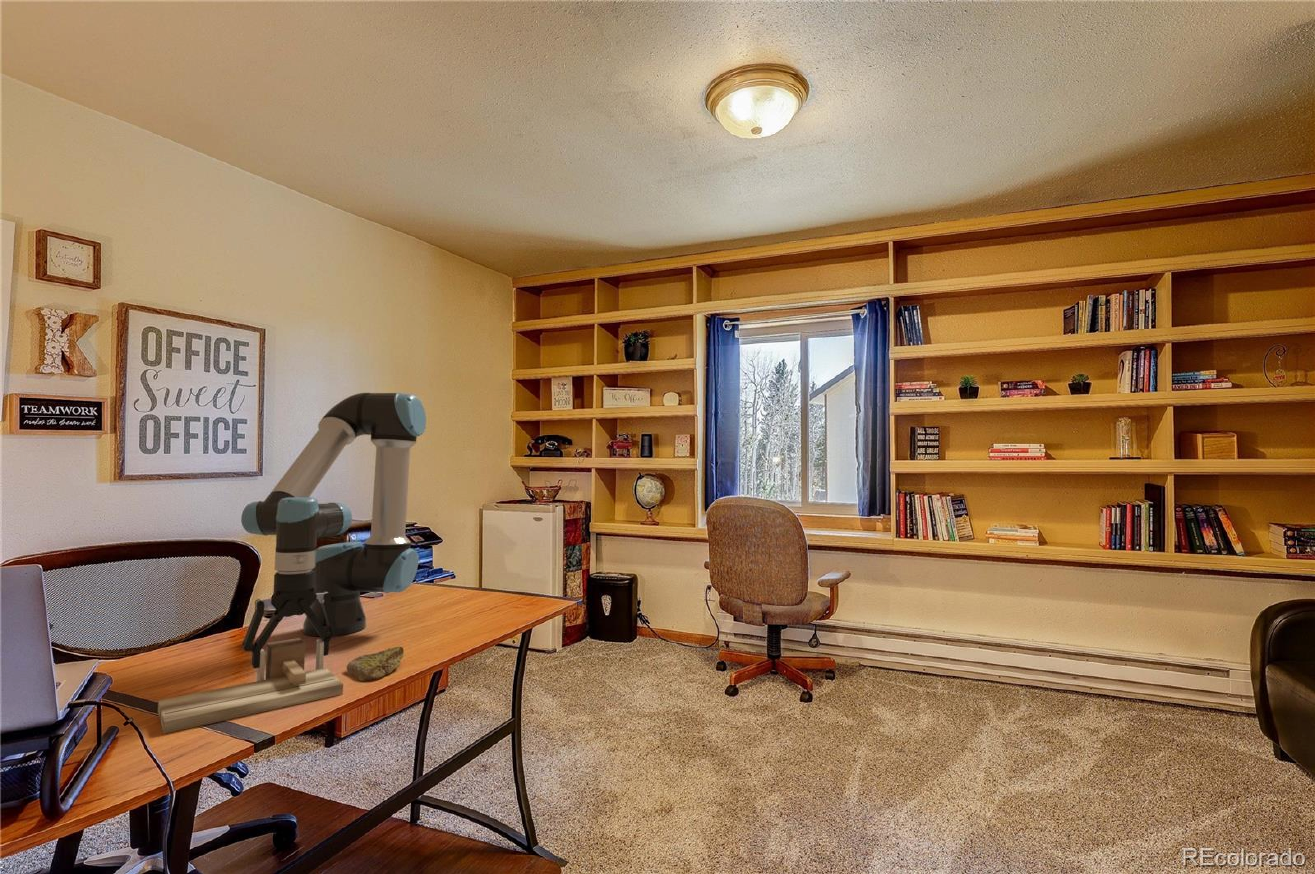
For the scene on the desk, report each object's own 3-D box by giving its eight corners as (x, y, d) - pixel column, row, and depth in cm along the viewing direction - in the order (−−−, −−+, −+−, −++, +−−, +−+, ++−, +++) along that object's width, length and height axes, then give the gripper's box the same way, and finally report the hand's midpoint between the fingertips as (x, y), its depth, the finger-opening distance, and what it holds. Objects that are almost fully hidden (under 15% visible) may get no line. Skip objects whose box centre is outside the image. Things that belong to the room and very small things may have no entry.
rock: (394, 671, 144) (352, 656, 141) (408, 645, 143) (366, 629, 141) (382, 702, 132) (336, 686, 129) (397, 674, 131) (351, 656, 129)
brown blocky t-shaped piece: (265, 681, 129) (266, 643, 129) (297, 675, 133) (299, 637, 133) (281, 704, 118) (283, 661, 118) (316, 696, 122) (318, 655, 122)
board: (157, 711, 113) (158, 700, 113) (325, 677, 132) (326, 667, 132) (163, 734, 104) (164, 721, 104) (342, 694, 123) (343, 683, 123)
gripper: (233, 579, 121) (228, 695, 120) (357, 567, 136) (353, 670, 135) (227, 573, 126) (222, 684, 125) (347, 563, 141) (343, 661, 141)
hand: (290, 677), depth 130 cm, fingers open, 10 cm apart
